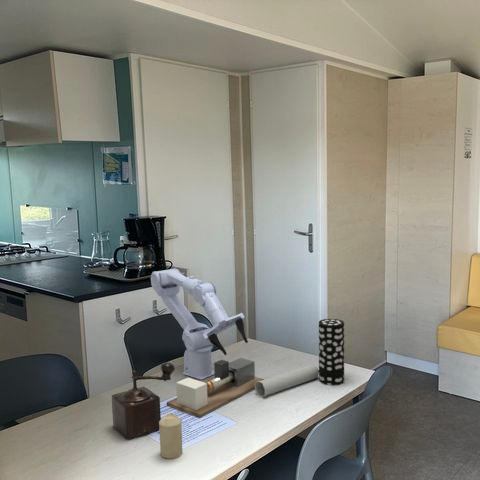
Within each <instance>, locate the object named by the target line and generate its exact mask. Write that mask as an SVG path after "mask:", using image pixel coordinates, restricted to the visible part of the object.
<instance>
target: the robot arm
mask: <svg viewBox="0 0 480 480" xmlns="http://www.w3.org/2000/svg"><path fill="white" fill-rule="evenodd" d="M150 284H151V287H152V289H153V290H154V291H155V293H156V294H157V296H159V297H160V298H161V300H162V302H163V304H164V305H165V306H166V308H167V309H168V310H169V312H170V313H171V314H172V316H173V317H174V318H175V319H176V321H177V322H178V324H179V325H180V327H181V328H182V329H183V332H182V341H183V343H184V346H185V348H186V349H185V351H184V354H183V369H184V371H183V372H182V375H186V376H188V377H190V378H191V377H192V378H193V379H194V378H195V379H198V380H199V381H203V380H205V379H207V378H210V377H212V376H215V374H214V369H213V368H212V350H213V347H214V346H215V347H217V348H218V349H219V350H220V351H221V353H223V354H224V356H226V355H228V354H227V351H226V349H225V348H224V346H223V345H222V343H221V341H220V340H219V338H218V336H217V335H218V334H221V333H222V332H224V331H226V330H227V329H230V328H231V327H233V326H236V328H237V330H238V332H239V334H240V335H241V336H242V339H243V340H244V342H245V344H248V343H249V341H248V339H247V336H246V333H245V326H244V325H245V323H244V321H245V320H246V318H245V315H244V313H243V312H240V313H239V314H237V315H233V316H231V317H229V315H228V314H227V312H226V309H225V308H224V307H223V305H222V303H221V302H220V300H219V298H218V297H217V288H216V286H215V284H214V283H213V282H211V281H208V282H204V281H202V280H201V279H197V278H196V277H195V276H194V275H190V276H187V277H186V276H185V275H184V274H182V273H181V272H180V270H179V269H177V268H175V267H174V268H170V269H165V270H164V269H163V270H158V271H152V273H151V275H150ZM181 287H182V290H183V291H184V293H187V294H189V295H191V296H192V297H193V300H194V302H195V303H198V304H199V306H200V307H202V308H203V310H204V312H205V314H206V316H207V317H208V319H209V320H210V322H211V324H212V327H211V328H210V327H209V326H208V325H207V324H205V323H202V322H199V321H198V320H196V318H195V317H194V316H193V314H192V313H191V312H190V311H189V309H188V308H187V307H186V305H185V304H184V303H183V302H182V300H181V299H180V297H179V296H178V293H180V290H181V289H180V288H181Z"/></svg>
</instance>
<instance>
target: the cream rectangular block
mask: <svg viewBox="0 0 480 480" xmlns="http://www.w3.org/2000/svg"><path fill="white" fill-rule="evenodd" d="M175 384H176V385H175V386H176V398H177V403H178V404H181V405H184V406H186V407H189V408H192V409H194V410H197V409H199V408H201V407H203V406H205V405H207V404H208V399H207V383H205V382H204V381H202V380H196V379H194V378H191V377H185V378H183V379H181V380H179V381H177V382H175Z"/></svg>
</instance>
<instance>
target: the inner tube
mask: <svg viewBox="0 0 480 480" xmlns="http://www.w3.org/2000/svg"><path fill="white" fill-rule="evenodd" d="M229 363H230V361H229V360H225V359H220V360H218V361H215V362H214V363H213V367H214V369H213V371H214V377H213V378H212V379H210V380H207V381H205V382H204V383H207V392H210V391H212V390H214V389H216V388H218V387H220V386H222V385H224V384H226V383H228V382H230V381H232V380H235V372H234V371H229Z"/></svg>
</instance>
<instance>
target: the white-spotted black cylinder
mask: <svg viewBox="0 0 480 480" xmlns="http://www.w3.org/2000/svg"><path fill="white" fill-rule="evenodd" d="M318 370H319V374H318V381H319V383H321V384H323V385H327V386H339V385H342V384H343V383H344V382H345V322H344V320H341V319H338V318H337V319H336V318H325V319H324V318H323V319H321V320H318Z"/></svg>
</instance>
